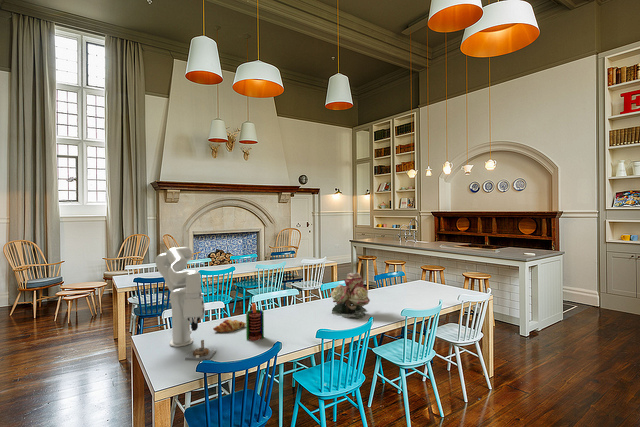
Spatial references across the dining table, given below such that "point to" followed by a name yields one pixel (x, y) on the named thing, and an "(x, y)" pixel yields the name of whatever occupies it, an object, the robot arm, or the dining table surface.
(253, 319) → the motor
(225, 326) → the croissant
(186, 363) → the dining table surface
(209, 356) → the base plate
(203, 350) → the sprocket
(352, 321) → the dining table surface
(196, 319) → the robot arm
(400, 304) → the dining table surface
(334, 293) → the rose bouquet
